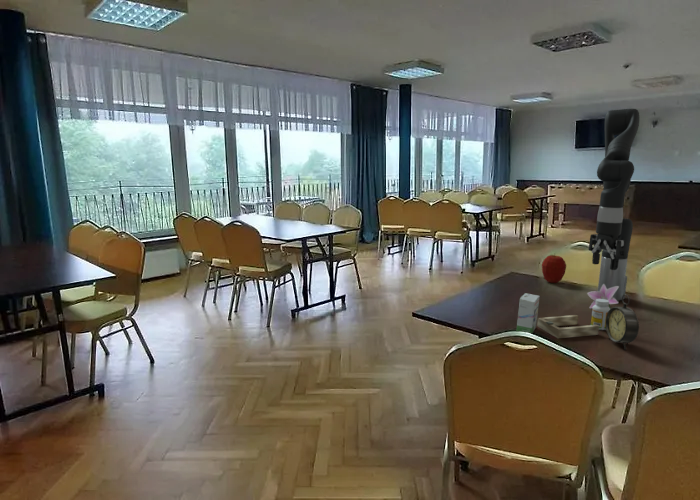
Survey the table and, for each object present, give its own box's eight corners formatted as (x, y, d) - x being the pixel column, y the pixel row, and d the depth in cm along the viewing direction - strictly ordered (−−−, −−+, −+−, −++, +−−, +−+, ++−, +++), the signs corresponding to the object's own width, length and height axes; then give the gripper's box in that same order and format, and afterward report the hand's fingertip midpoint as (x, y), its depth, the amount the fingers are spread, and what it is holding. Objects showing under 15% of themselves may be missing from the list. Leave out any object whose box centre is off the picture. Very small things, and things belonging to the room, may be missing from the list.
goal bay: (575, 323, 163) (576, 313, 162) (598, 334, 152) (599, 324, 152) (536, 326, 160) (537, 317, 159) (557, 338, 149) (558, 328, 148)
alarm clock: (602, 337, 150) (608, 289, 147) (619, 337, 150) (625, 289, 147) (621, 351, 139) (628, 300, 136) (639, 351, 139) (646, 300, 136)
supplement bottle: (604, 324, 161) (607, 298, 159) (611, 330, 156) (614, 303, 154) (587, 324, 162) (590, 297, 160) (594, 330, 156) (597, 302, 154)
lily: (585, 305, 185) (580, 287, 181) (616, 296, 182) (611, 277, 178) (597, 324, 175) (592, 305, 171) (630, 314, 172) (626, 295, 168)
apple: (544, 285, 211) (546, 255, 208) (537, 279, 220) (540, 250, 218) (567, 285, 210) (570, 255, 207) (560, 279, 219) (563, 251, 217)
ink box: (521, 325, 161) (523, 292, 159) (537, 328, 158) (539, 294, 156) (515, 333, 154) (518, 298, 151) (531, 336, 151) (534, 301, 149)
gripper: (635, 223, 151) (629, 271, 154) (604, 217, 165) (599, 261, 168) (615, 223, 150) (609, 272, 153) (585, 217, 163) (580, 262, 166)
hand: (604, 266), depth 160 cm, fingers open, 8 cm apart
